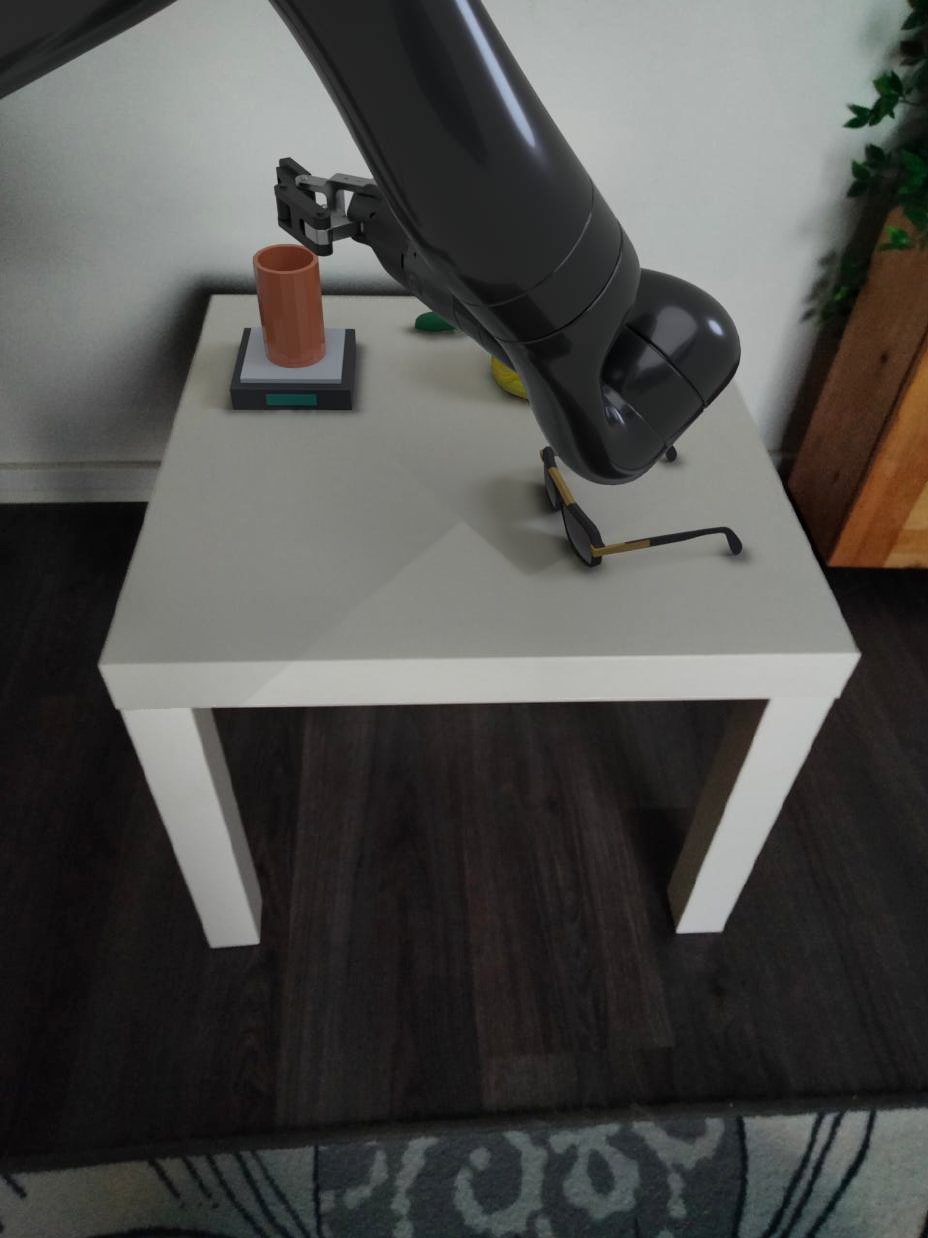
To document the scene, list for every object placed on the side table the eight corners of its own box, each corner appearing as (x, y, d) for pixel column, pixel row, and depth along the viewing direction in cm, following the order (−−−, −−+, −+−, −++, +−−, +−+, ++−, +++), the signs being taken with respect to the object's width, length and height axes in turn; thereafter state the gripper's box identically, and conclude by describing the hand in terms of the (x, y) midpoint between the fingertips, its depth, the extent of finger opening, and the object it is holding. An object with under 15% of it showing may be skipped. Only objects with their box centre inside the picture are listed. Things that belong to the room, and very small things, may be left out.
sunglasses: (740, 555, 79) (755, 511, 75) (577, 582, 75) (585, 538, 72) (674, 460, 88) (685, 416, 84) (526, 481, 85) (531, 437, 81)
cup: (296, 375, 90) (285, 279, 83) (253, 353, 92) (238, 259, 85) (338, 350, 94) (331, 256, 86) (295, 330, 96) (285, 237, 89)
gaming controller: (427, 351, 103) (457, 330, 98) (409, 322, 102) (439, 299, 97) (474, 321, 108) (506, 299, 103) (458, 292, 107) (489, 269, 102)
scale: (351, 410, 91) (350, 384, 89) (232, 409, 91) (228, 384, 88) (356, 348, 100) (354, 323, 97) (247, 347, 99) (243, 321, 97)
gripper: (562, 167, 55) (425, 88, 64) (354, 213, 49) (237, 119, 58) (549, 285, 60) (424, 196, 69) (361, 338, 55) (252, 234, 64)
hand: (339, 161), depth 64 cm, fingers open, 8 cm apart
